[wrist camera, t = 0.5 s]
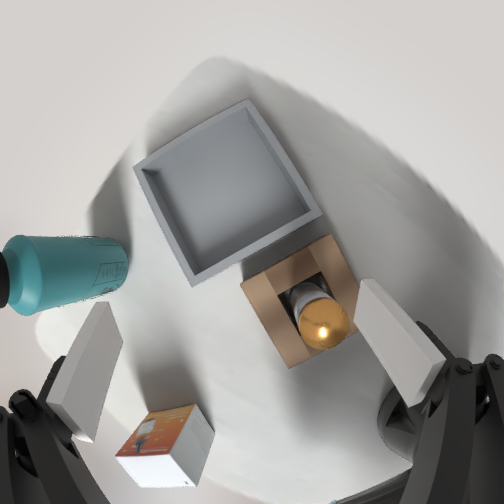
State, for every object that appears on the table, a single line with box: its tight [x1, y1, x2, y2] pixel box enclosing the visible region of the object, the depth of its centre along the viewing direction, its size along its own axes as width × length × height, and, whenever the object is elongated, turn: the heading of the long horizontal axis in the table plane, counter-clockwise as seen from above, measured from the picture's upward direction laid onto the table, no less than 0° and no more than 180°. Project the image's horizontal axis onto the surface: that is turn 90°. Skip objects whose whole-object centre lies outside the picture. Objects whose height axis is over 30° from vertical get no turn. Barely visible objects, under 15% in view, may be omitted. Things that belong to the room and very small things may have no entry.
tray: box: [133, 98, 323, 287], centre depth 27 cm, size 14×14×4 cm
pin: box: [290, 282, 349, 349], centre depth 24 cm, size 4×4×10 cm
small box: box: [115, 404, 215, 487], centre depth 25 cm, size 8×6×10 cm
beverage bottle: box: [0, 235, 128, 316], centre depth 20 cm, size 6×7×20 cm
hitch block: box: [240, 234, 359, 369], centre depth 27 cm, size 10×10×3 cm
